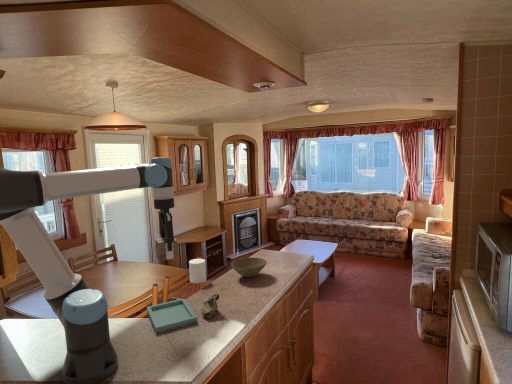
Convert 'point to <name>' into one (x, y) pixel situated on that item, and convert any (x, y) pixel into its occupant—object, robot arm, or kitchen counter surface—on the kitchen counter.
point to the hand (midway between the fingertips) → (167, 256)
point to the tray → (171, 315)
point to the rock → (210, 306)
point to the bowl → (248, 266)
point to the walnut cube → (162, 251)
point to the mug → (197, 271)
